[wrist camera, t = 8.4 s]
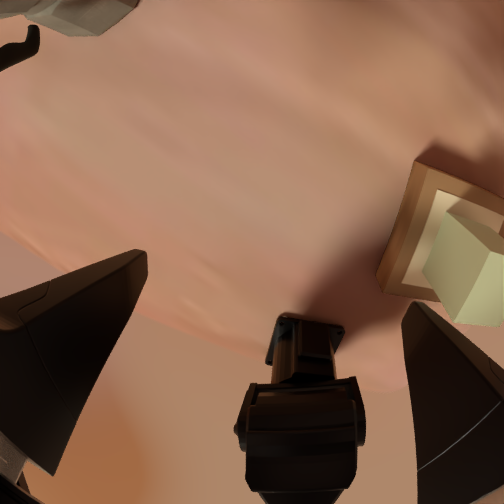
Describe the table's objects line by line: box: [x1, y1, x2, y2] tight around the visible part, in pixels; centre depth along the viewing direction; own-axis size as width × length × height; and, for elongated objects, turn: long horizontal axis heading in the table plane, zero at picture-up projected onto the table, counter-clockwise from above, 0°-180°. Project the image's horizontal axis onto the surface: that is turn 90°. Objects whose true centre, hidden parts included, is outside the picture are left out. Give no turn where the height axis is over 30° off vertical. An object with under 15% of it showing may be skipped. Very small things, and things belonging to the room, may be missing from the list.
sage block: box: [422, 212, 504, 327], centre depth 16 cm, size 5×5×6 cm
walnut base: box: [375, 161, 504, 302], centre depth 19 cm, size 10×10×3 cm
